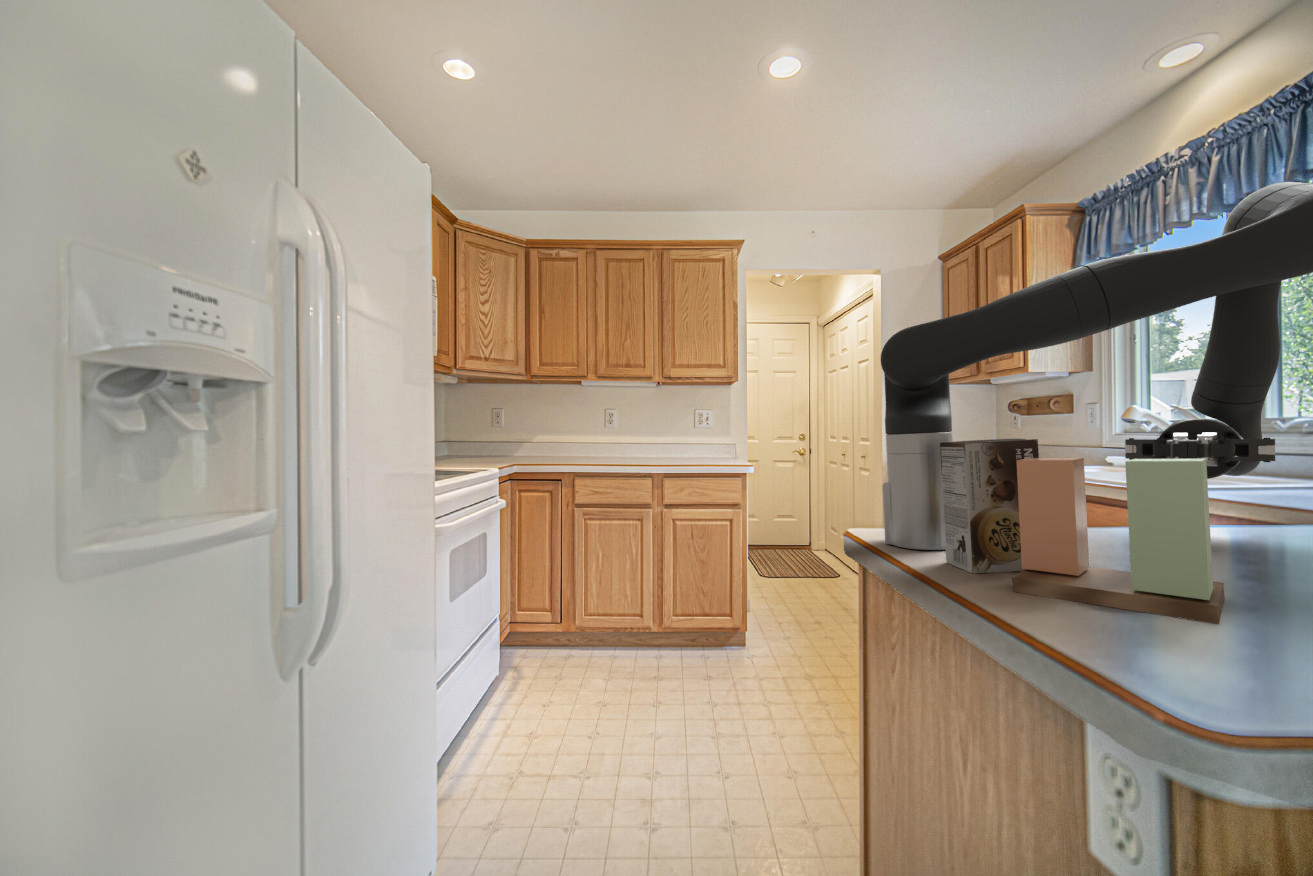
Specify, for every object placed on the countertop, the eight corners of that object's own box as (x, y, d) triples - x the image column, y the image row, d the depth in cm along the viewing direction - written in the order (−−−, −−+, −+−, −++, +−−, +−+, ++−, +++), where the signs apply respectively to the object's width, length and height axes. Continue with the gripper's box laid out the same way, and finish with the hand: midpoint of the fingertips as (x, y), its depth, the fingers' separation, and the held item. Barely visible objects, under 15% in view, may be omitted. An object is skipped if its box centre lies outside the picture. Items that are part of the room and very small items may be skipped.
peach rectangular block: (1021, 568, 58) (1016, 460, 58) (1034, 560, 62) (1029, 458, 62) (1078, 575, 55) (1072, 460, 55) (1089, 567, 58) (1083, 457, 58)
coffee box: (1012, 559, 70) (1006, 438, 70) (1048, 571, 63) (1041, 437, 64) (943, 562, 70) (937, 441, 70) (971, 574, 64) (965, 440, 64)
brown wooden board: (1012, 591, 56) (1012, 577, 56) (1039, 573, 63) (1038, 561, 63) (1218, 624, 45) (1217, 606, 45) (1224, 598, 51) (1223, 582, 51)
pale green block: (1131, 589, 49) (1125, 461, 49) (1140, 579, 52) (1134, 458, 53) (1209, 600, 45) (1202, 461, 46) (1213, 588, 49) (1206, 458, 49)
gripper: (1280, 480, 63) (1284, 489, 51) (1131, 475, 73) (1107, 482, 61) (1280, 417, 63) (1283, 412, 51) (1131, 420, 73) (1106, 417, 61)
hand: (1187, 450), depth 56 cm, fingers closed
